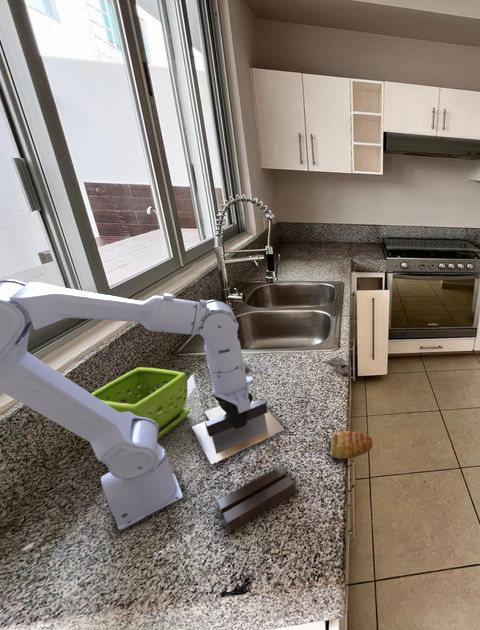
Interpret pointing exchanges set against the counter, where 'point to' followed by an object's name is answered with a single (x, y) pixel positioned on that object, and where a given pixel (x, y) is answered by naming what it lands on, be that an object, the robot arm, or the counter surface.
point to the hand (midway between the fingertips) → (239, 423)
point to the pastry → (349, 444)
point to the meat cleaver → (339, 365)
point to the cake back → (215, 413)
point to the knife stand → (255, 498)
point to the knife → (230, 436)
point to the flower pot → (149, 396)
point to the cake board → (210, 451)
